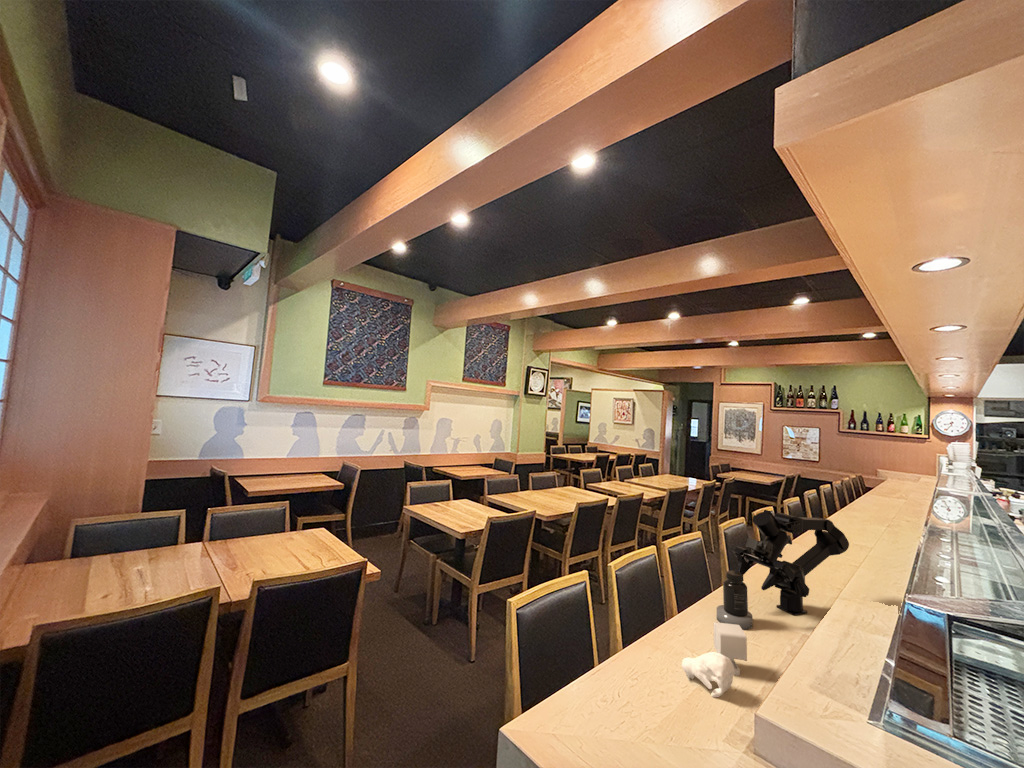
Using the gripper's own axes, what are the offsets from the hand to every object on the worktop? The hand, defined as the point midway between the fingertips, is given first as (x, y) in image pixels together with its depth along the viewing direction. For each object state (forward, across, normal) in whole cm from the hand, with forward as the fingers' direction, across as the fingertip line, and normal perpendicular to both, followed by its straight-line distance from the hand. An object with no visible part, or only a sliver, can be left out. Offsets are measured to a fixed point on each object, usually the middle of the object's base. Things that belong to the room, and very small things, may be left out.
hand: (749, 583), depth 136 cm
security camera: (+29, +18, -13) cm, 36 cm away
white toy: (+36, +22, -21) cm, 47 cm away
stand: (+12, 0, +3) cm, 13 cm away
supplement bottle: (+10, 0, +1) cm, 10 cm away
